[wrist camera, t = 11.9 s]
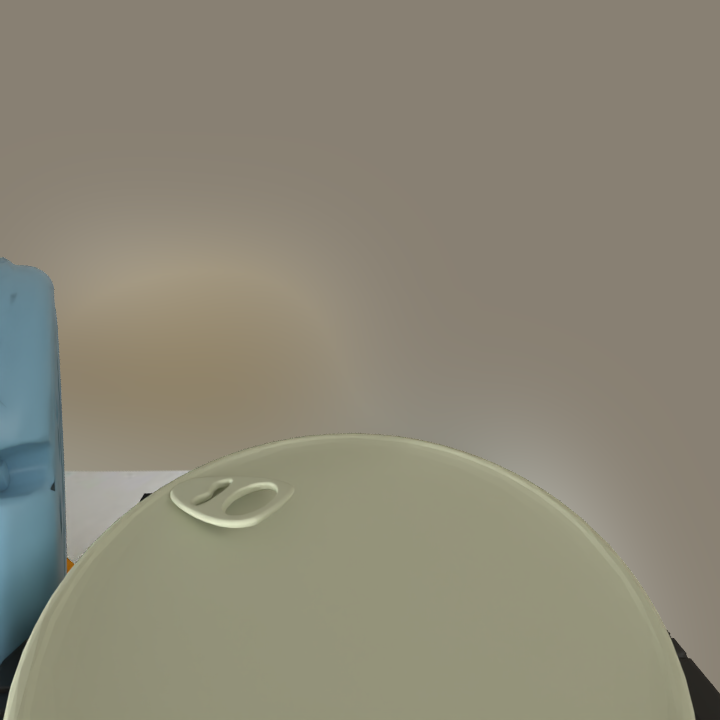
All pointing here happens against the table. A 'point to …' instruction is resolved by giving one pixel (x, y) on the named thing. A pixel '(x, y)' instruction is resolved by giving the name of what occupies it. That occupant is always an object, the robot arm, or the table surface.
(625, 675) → the can
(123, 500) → the table surface
